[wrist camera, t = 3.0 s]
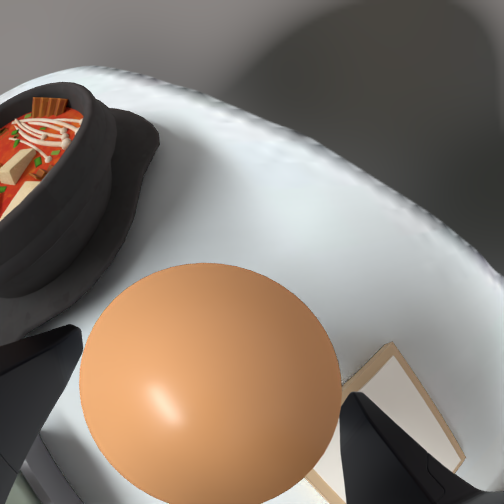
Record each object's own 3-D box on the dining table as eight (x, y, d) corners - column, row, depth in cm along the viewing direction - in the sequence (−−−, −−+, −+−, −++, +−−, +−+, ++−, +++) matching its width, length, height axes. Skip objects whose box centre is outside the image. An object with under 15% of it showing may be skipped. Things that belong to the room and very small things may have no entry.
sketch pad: (458, 457, 13) (467, 457, 12) (375, 545, 10) (383, 550, 9) (384, 344, 17) (394, 341, 16) (272, 441, 14) (277, 444, 13)
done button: (57, 510, 7) (28, 529, 4) (25, 516, 6) (-4, 531, 2) (23, 457, 9) (-14, 465, 5) (-6, 467, 7) (-40, 473, 4)
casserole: (78, 109, 24) (63, 48, 17) (212, 157, 23) (219, 70, 15) (-64, 281, 13) (-113, 241, 5) (34, 425, 11) (-51, 427, 4)
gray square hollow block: (94, 517, 9) (78, 533, 6) (36, 528, 6) (18, 540, 4) (36, 429, 11) (11, 432, 8) (-13, 450, 8) (-37, 453, 6)
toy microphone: (254, 394, 15) (384, 407, 4) (200, 428, 14) (180, 543, 2) (217, 342, 16) (244, 223, 5) (164, 374, 15) (43, 335, 3)
